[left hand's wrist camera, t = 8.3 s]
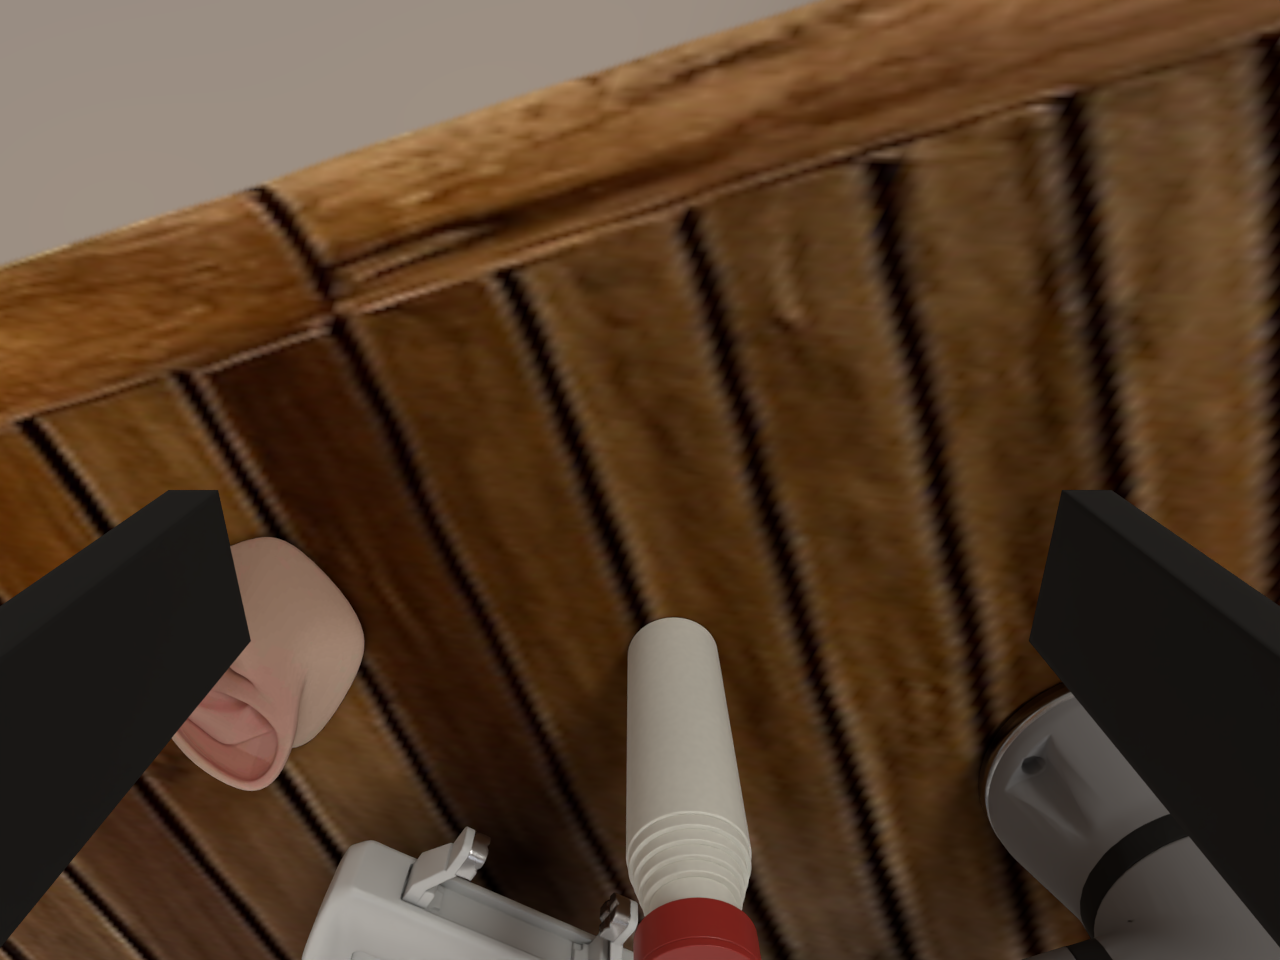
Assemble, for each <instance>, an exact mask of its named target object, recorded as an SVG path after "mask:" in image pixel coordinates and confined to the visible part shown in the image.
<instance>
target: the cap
mask: <svg viewBox="0 0 1280 960" xmlns="http://www.w3.org/2000/svg"><path fill="white" fill-rule="evenodd" d="M634 960H761V955H760V948H759V942H758V936H757V931H756V928H755V926H754V924H753V922H752V921H751V919H750V918H749V917H748V916H747V915H746V914H745V913H744V912H743V911H742V910H740V909H739V908H737V907H736V906H734V905H731V904H729V903H727V902H724V901H721V900H717V899H711V898H700V897H695V898H685V899H679V900H675V901H672V902H669V903H666V904H664V905H662V906H660V907H658V908H656V909H654V910H653V911H651V912H650V913H649V914H648V915H647V916H646V917H645V918H644V919H643V920H642V921H641V923H640V924H639V925H638V928H637V930H636V932H635V935H634Z"/></svg>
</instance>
